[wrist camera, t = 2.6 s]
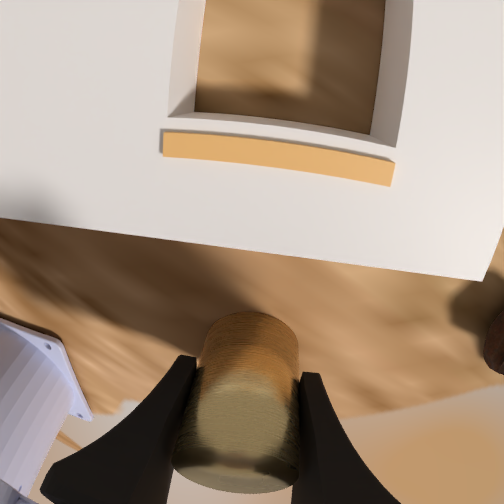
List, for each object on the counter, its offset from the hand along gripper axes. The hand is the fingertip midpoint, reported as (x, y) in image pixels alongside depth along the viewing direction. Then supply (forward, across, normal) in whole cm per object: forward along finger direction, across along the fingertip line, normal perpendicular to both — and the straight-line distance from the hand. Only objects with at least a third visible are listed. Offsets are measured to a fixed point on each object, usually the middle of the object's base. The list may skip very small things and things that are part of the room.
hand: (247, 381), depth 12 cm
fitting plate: (+2, +5, -12) cm, 13 cm away
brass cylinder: (+2, 0, 0) cm, 2 cm away
